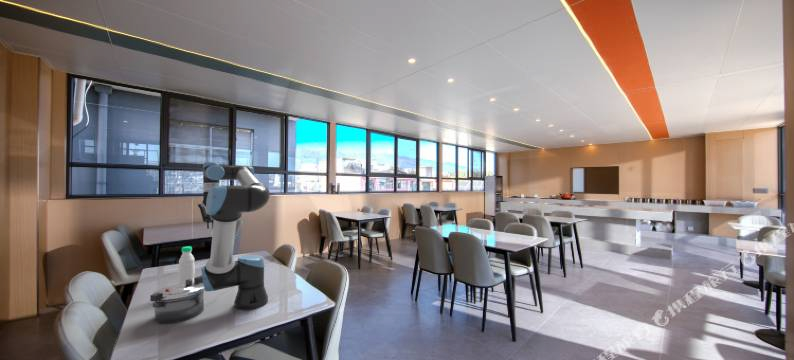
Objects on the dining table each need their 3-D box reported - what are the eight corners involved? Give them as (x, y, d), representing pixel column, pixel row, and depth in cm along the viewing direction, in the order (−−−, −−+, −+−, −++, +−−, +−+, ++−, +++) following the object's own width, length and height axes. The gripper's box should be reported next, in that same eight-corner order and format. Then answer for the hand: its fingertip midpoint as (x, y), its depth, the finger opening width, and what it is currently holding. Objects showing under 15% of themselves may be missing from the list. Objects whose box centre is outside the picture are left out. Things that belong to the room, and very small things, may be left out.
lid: (171, 304, 120) (171, 294, 120) (134, 300, 124) (134, 291, 124) (226, 281, 148) (226, 273, 148) (194, 278, 152) (194, 271, 152)
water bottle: (197, 290, 163) (197, 246, 163) (184, 295, 156) (184, 248, 157) (188, 289, 165) (188, 245, 166) (175, 293, 159) (175, 247, 159)
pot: (173, 328, 121) (173, 304, 121) (138, 323, 125) (138, 300, 125) (224, 302, 147) (224, 282, 147) (193, 299, 151) (193, 280, 151)
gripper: (194, 191, 153) (194, 236, 153) (220, 191, 154) (220, 235, 154) (202, 191, 160) (202, 233, 160) (227, 190, 161) (227, 233, 161)
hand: (211, 234), depth 157 cm, fingers closed
